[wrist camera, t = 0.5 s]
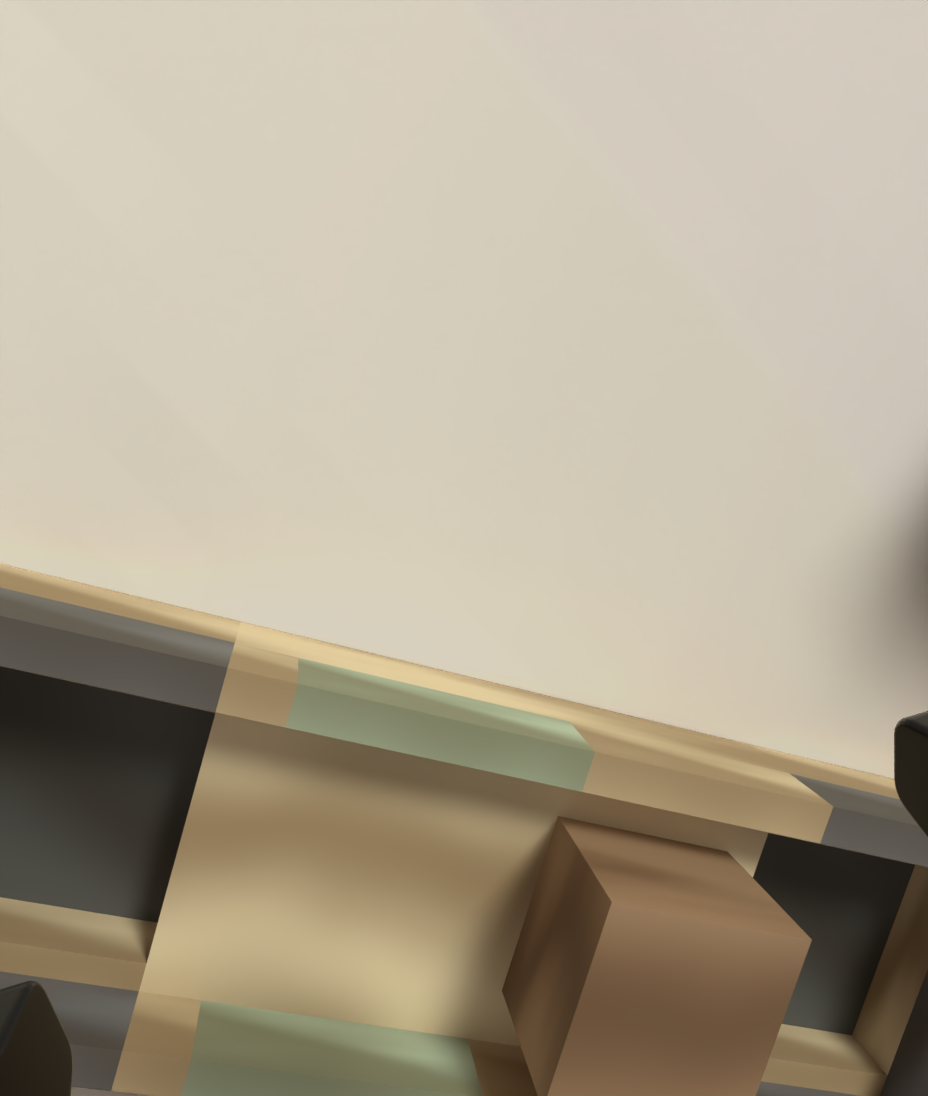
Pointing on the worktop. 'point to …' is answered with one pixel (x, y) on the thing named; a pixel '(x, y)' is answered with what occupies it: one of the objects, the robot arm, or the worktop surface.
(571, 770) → the box
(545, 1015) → the walnut block
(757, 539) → the worktop surface
